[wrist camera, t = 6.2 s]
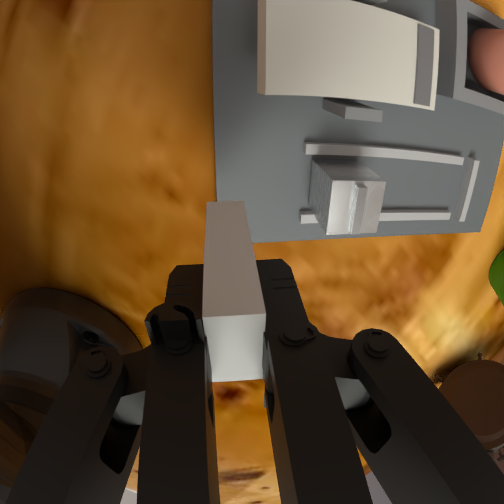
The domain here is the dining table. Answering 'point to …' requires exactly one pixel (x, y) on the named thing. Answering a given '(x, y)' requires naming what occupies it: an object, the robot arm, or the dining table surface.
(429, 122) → the panel
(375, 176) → the slider knob
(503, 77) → the round button
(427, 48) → the paddle
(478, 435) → the alarm clock
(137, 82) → the dining table surface
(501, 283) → the cup
